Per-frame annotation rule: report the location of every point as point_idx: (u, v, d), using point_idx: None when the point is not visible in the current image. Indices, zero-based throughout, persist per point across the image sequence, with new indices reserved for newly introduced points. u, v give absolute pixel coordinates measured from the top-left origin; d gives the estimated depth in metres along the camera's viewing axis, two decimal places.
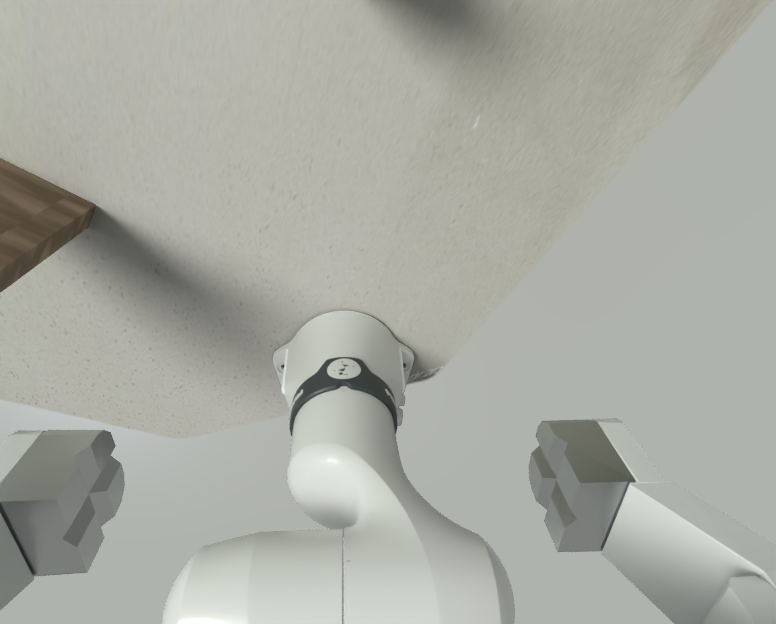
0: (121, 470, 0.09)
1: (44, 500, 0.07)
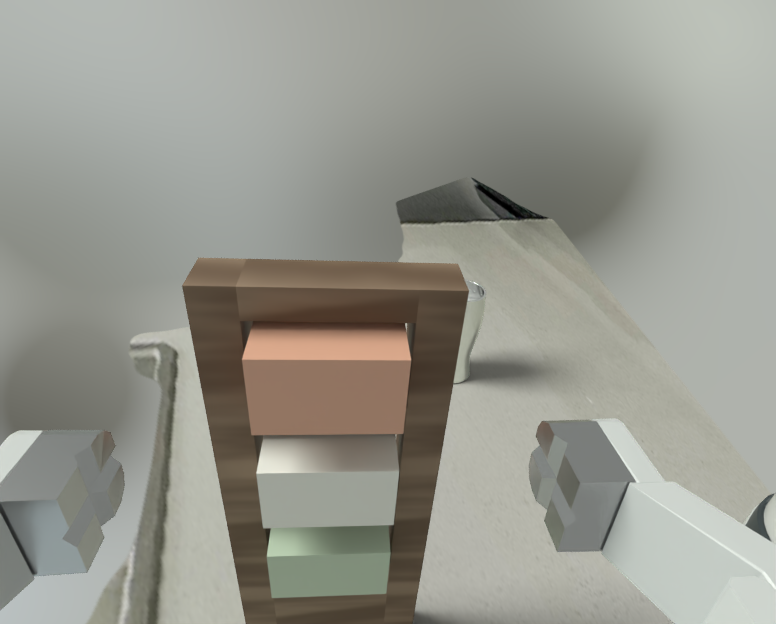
0: (121, 470, 0.09)
1: (44, 500, 0.07)
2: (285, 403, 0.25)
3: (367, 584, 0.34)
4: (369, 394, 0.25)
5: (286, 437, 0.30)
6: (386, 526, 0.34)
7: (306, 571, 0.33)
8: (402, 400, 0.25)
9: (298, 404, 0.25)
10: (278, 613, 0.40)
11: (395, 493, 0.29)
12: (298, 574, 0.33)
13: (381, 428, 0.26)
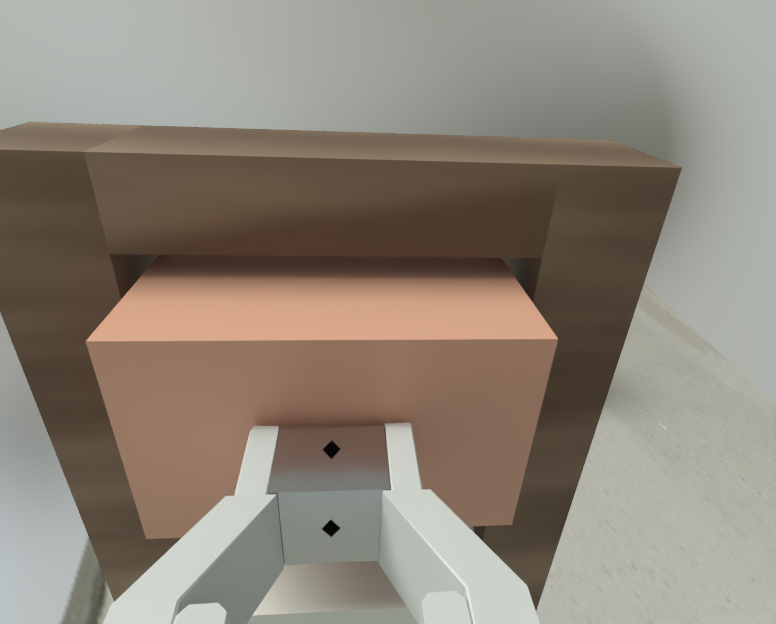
0: None
1: (317, 491, 0.08)
2: (222, 461, 0.10)
3: None
4: (438, 432, 0.10)
5: None
6: None
7: None
8: (520, 446, 0.10)
9: None
10: None
11: None
12: None
13: (462, 515, 0.11)
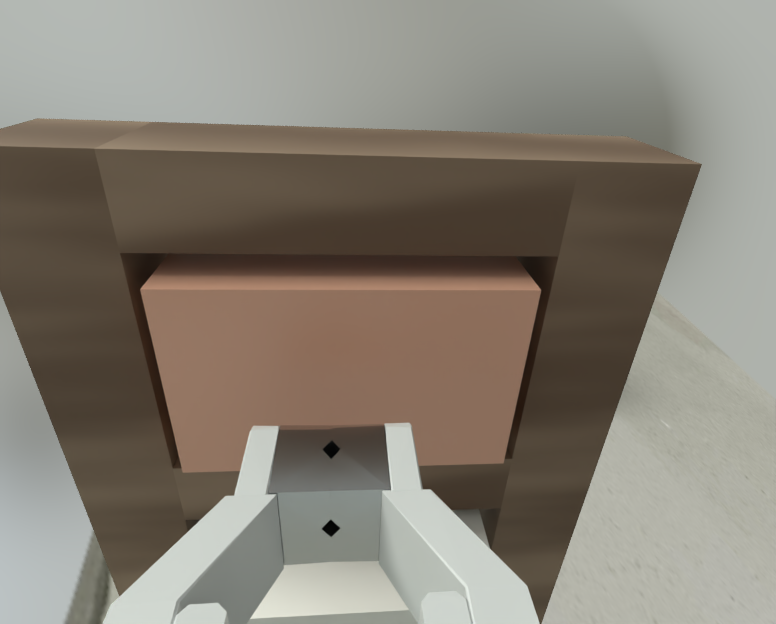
0: None
1: (316, 491, 0.08)
2: (252, 400, 0.11)
3: None
4: (439, 375, 0.11)
5: None
6: None
7: None
8: (510, 389, 0.11)
9: (281, 402, 0.11)
10: None
11: None
12: None
13: (459, 453, 0.12)
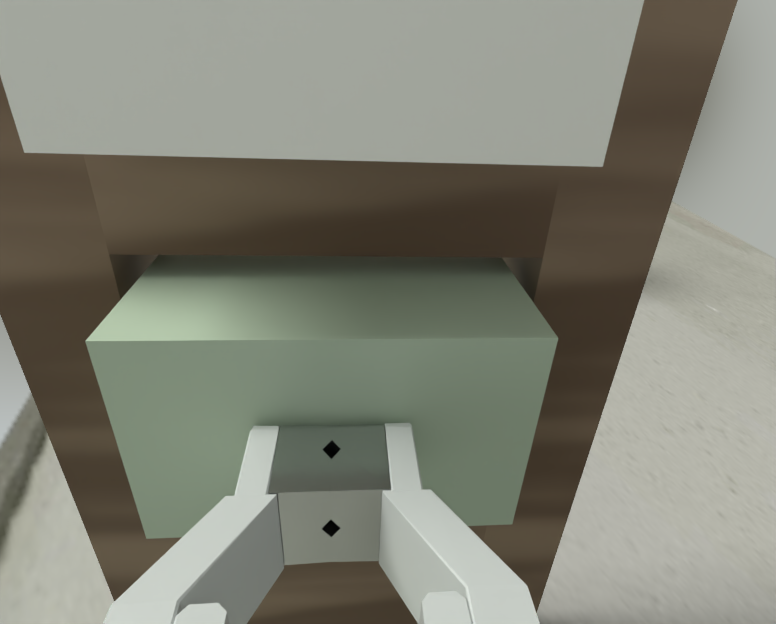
0: None
1: (317, 491, 0.08)
2: None
3: (458, 486, 0.10)
4: None
5: None
6: (517, 289, 0.10)
7: (250, 422, 0.09)
8: None
9: None
10: None
11: None
12: (222, 438, 0.09)
13: None
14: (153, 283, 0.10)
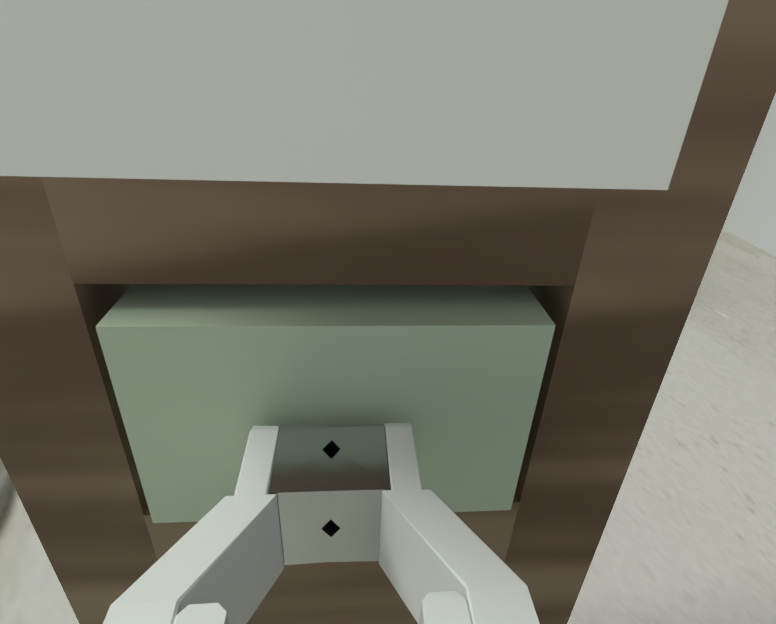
0: None
1: (316, 491, 0.08)
2: None
3: (458, 471, 0.11)
4: None
5: None
6: None
7: (255, 407, 0.09)
8: None
9: None
10: None
11: None
12: (228, 422, 0.09)
13: None
14: None
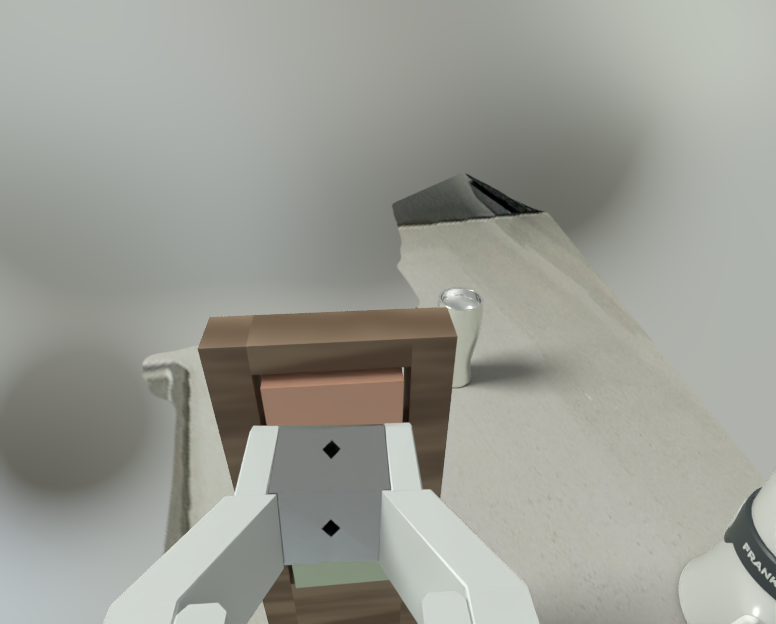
0: None
1: (316, 491, 0.08)
2: (298, 422, 0.29)
3: (379, 571, 0.38)
4: (370, 410, 0.29)
5: None
6: None
7: (325, 563, 0.37)
8: (398, 414, 0.29)
9: (309, 422, 0.29)
10: None
11: None
12: (318, 566, 0.37)
13: None
14: None
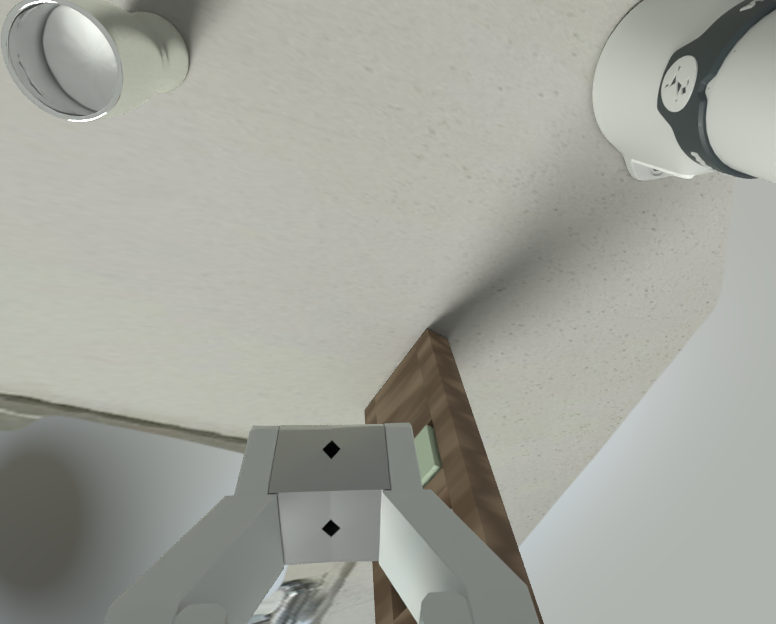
0: None
1: (316, 491, 0.08)
2: None
3: None
4: None
5: None
6: None
7: None
8: None
9: None
10: None
11: None
12: None
13: None
14: None
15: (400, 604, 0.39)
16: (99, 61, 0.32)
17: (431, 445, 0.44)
